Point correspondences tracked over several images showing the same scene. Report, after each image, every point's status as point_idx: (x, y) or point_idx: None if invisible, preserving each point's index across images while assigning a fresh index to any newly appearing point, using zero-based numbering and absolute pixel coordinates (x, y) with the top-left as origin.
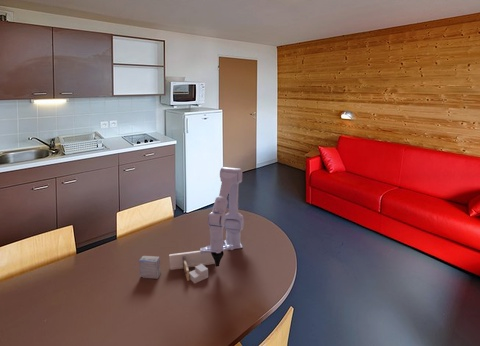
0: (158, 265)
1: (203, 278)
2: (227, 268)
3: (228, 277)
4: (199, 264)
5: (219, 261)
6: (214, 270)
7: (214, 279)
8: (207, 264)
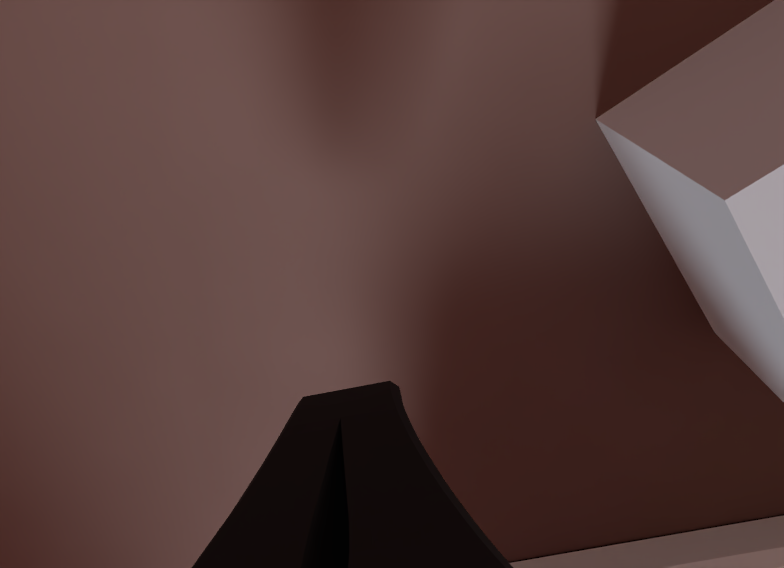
0: None
1: (751, 29)
2: (120, 441)
3: (33, 81)
4: (750, 552)
5: (245, 524)
6: (423, 381)
7: (431, 7)
8: (567, 560)
